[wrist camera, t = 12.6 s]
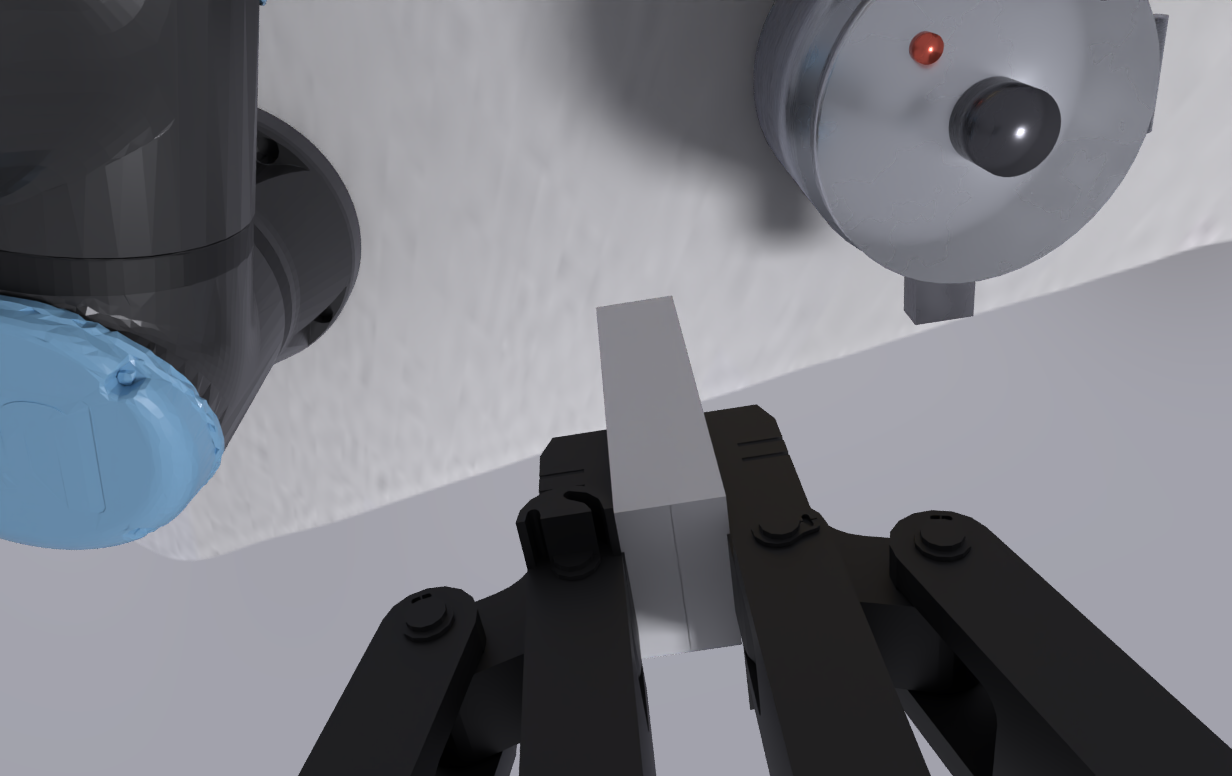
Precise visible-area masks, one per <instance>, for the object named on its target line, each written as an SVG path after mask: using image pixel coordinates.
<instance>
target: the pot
mask: <svg viewBox="0 0 1232 776" xmlns="http://www.w3.org/2000/svg"><path fill="white" fill-rule="evenodd" d="M861 1H862V0H776V1H775V2H774V4H773V6H772V8H771V10H770V12H769V14H768V16H767V19H766V22H765V24H764V27H763V30H762V32H761V35H760V39H759V43H758V47H757V51H756V57H755V65H754V98H755V105H756V111H757V115H758V118H759V122H760V126H761V128H762V131H763V133H764V135H765V138H766V140H767V142H768V144H769V146H770V147H771V149H772V151H773V152H774V154H775V156H776V157H777V158H778V160H779V161H780V162H781V164H782V165H783V166H784V167H785V169H786V170H787V171H788V173H789V174H790V175H791V177H792V178H793V179H794V180H795V182H796V183H797V184H798V186H799V187H800V188H801V189H802V191H803V192H804V193H805V195H806V196H807V197H808V199H809V200H810V201H811V202H812V204H813V205H814V206H815V208H816V209H817V210H818V211H819V213H820V214H821V215H822V216H823V218H824V219H825V220H826V221H827V223H828V224H829V225H830V226H831V227H832V229H834V230H835V231H836V232H837V233H838V234H839V235H840V236H841V237H842V238H844V239H845V240H846V241H847V242H849V243H850V244H852V245H853V246H855V247H856V248H858V247H857V246H856V245H855V244H854V243H853V242H852V241H851V240H850V239H849V238H848V237H847V236H846V235H845V234H844V233H843V231H842V230H841V229H840V228H839V227H838V225H837V224H836V223H835V222H834V220H833V218H832V217H831V215H830V213H829V211H828V210H827V208H826V206H825V205H824V202H823V200H822V197H821V195H820V192H819V190H818V187H817V184H816V180H815V176H814V172H813V167H812V160H811V150H810V121H811V114H812V107H813V101H814V96H815V92H816V89H817V85H818V81H819V78H820V74H821V72H822V69H823V67H824V64H825V62H826V59H827V57H828V54H829V52H830V49H831V48H832V46H833V44H834V42H835V40H836V38H837V36H838V35H839V33H840V31H841V29H842V27H843V26H844V24H845V23H846V22H847V20H848V19H849V17H850V16H851V14H852V13H853V11H854V10H855V8H856V7H857V6H858V5H859V3H860V2H861ZM1153 16H1154V19H1155V23H1156V29H1157V34H1158V40H1159V53H1160V72H1161V65H1162V58H1163V51H1164V45H1165V38H1166V31H1167V24H1168V18H1169V16H1168V15H1165V14H1153ZM1160 72H1159V79H1160ZM1158 85H1159V83H1158ZM1156 99H1157V97H1156ZM1155 106H1156V101H1155ZM1155 106H1154V111H1153V115H1152V118H1151V121H1150V124H1149V127H1148V130H1147V133H1149V132H1151V131H1152V126H1153V119H1154V112H1155ZM1147 133H1146V134H1147ZM858 249H859V248H858ZM859 250H860V249H859ZM861 251H862V250H861ZM974 294H975V281H974V282H966V283H934V282H926V281H920V280H916V279H913V278H909V277H906V276H904V311H905V312H906V314H907V315H908V316H909V317H910V319H911V320H912V321H913V323H914V324H915V325H919V324H925V323H932V322H938V321H944V320H951V319H957V318H964V317H970V316H973V312H974Z"/></svg>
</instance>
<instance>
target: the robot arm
mask: <svg viewBox="0 0 1232 776" xmlns="http://www.w3.org/2000/svg"><path fill="white" fill-rule="evenodd" d="M265 4H266V0H0V538H1V539H5V540H8V541H12V542H16V543H20V544H25V545H30V546H36V547H43V548H52V549H66V550H84V549H98V548H106V547H111V546H117V545H121V544H124V543H128V542H131V541H134V540H137V539H140V538H142V537H144V536H146V535H147V534H148V533H150V532H154V531H155V530H156V529H158V528H159V527H161V526H164V525H166V524H168V523H169V522H170V521H172V520H173V519H174V518H175V517H177V516H178V515H179V514H180V513H181V512H182V511H183V510H184V509H185V507H186V506H187V505H188V503H189V502H190V501H191V500H192V499H193V497H194V496H195V495H196V494H197V493H198V491H199V490H200V489H201V488H202V487H203V486H204V485H205V484H207V482H208V480H209V479H210V478H212V477H213V475H214V474H215V472H216V470H217V469H218V468H219V466H220V463H221V456H222V454H223V452H224V451H225V449H226V447H227V445H228V443H229V442H230V440H231V438H232V436H233V435H234V433H235V431H236V429H237V428H238V426H239V424H240V422H241V421H242V419H243V417H244V415H245V413H246V412H247V410H248V408H249V406H250V405H251V403H252V401H253V399H254V398H255V396H256V394H257V392H258V391H259V389H260V387H261V385H262V384H263V382H264V380H265V378H266V376H267V375H268V373H269V371H270V369H271V368H272V366H273V364H276V363H278V362H280V361H282V360H284V359H286V358H288V357H290V356H293V355H295V354H296V353H298V352H300V351H302V350H304V349H305V348H307V347H308V346H310V345H311V344H312V343H314V342H315V341H316V340H317V339H319V338H320V337H321V336H322V335H323V334H324V333H325V332H326V331H327V330H328V329H329V328H330V327H331V325H332V324H333V323H334V322H335V320H336V319H337V317H338V316H339V314H340V313H341V311H342V309H343V307H344V306H345V304H346V302H347V300H348V298H349V296H350V294H351V292H352V289H353V287H354V285H355V282H356V279H357V275H358V271H359V266H360V259H361V235H360V228H359V222H358V218H357V214H356V211H355V208H354V205H353V202H352V200H351V197H350V195H349V193H348V191H347V189H346V187H345V185H344V183H343V181H342V180H341V178H340V176H339V175H338V173H337V172H336V170H335V169H334V168H333V166H332V165H331V164H330V162H329V161H328V160H327V159H326V157H325V156H324V155H323V154H322V153H321V152H320V151H319V150H318V149H317V148H316V147H315V146H314V145H313V144H312V143H311V142H310V141H309V140H308V139H307V138H306V137H304V136H303V135H302V134H301V133H299V132H298V131H297V130H295V129H294V128H293V127H291V126H290V125H288V124H287V123H285V122H284V121H282V120H280V119H278V118H277V117H275V116H273V115H271V114H269V113H267V112H265V111H263V110H260V109H258V108H257V96H258V47H259V5H262V6H264V5H265ZM596 310H597V322H598V334H599V345H600V357H601V369H602V380H603V392H604V404H605V415H606V427H607V430H601V431H594V432H588V433H581V434H575V435H568V436H562V437H555V438H552V440H551V441H550V443H549V444H548V446H547V447H546V449H545V450H544V452H543V453H542V455H541V456H540V474H539V476H540V480H539V496H537V497H535V498H533V499H531V500H530V501H529V502H528V503H527V504H526V505H525V506H524V507H523V508H522V509H521V510H520V512H519V515H518V518H517V521H516V526H517V530H518V534H519V538H520V542H521V545H522V550H523V553H524V557H525V561H526V565H527V569H528V571H527V573H526V574H525V575H524V576H523V577H522V578H521V579H520V580H519V581H517V582H516V583H515V584H513V585H512V586H510V587H509V588H506V589H504V590H503V591H500V592H498V593H496V594H494V595H492V596H489V597H486V598H484V599H481V600H479V601H476V602H475V601H474V599H473V597H472V596H470V595H469V594H467V593H466V592H464V591H463V590H462V589H457V588H451V587H446V586H444V587H436V588H428V589H425V590H422V591H420V592H417V593H414V594H412V595H409V596H408V597H406V598H405V599H404V600H402V601H401V602H399V603H398V604H396V605H395V606H393V608H392V609H391V610H390V611H389V613H388V614H387V615H386V616H385V618H384V619H383V620H382V622H381V624H380V626H379V628H378V630H377V631H376V633H375V635H374V637H373V639H372V640H371V642H370V644H369V646H368V648H367V650H366V652H365V653H364V656H363V657H362V659H361V661H360V663H359V664H358V666H357V668H356V670H355V672H354V674H353V675H352V677H351V679H350V681H349V683H348V685H347V687H346V688H345V690H344V692H343V694H342V696H341V698H340V699H339V701H338V703H337V705H336V707H335V709H334V711H333V712H332V714H331V716H330V718H329V720H328V722H327V723H326V725H325V727H324V729H323V731H322V733H321V734H320V736H319V738H318V740H317V742H316V744H315V746H314V747H313V749H312V751H311V753H310V755H309V757H308V758H307V760H306V762H305V764H304V766H303V768H302V770H301V772H300V773H299V775H298V776H509V775H510V772H511V769H512V766H513V763H514V760H515V757H516V748H517V744H518V743H520V764H519V776H656V770H655V760H654V751H653V743H652V734H651V724H650V715H649V706H648V697H647V688H646V683H645V677H644V672H643V666H642V660H641V659H646V658H653V657H659V656H666V655H673V654H679V653H686V652H693V651H700V650H707V649H714V648H721V647H727V646H734V645H741V644H742V642H743V646H744V655H745V665H746V674H747V683H748V693H749V702H750V710H752V709H755V712H756V717H757V721H758V725H759V729H760V734H761V738H762V743H763V747H764V751H765V756H766V760H767V764H768V768H769V773H770V776H931V775H930V773H929V770H928V768H927V766H926V763H925V760H924V758H923V756H922V753H921V751H920V748H919V746H918V743H917V741H916V738H915V736H914V734H913V731H912V729H911V726H910V724H909V721H908V719H907V717H906V714H907V715H908V716H909V718H910V719H911V720H912V722H913V723H914V724H915V726H916V727H917V728H918V730H919V731H920V732H921V734H922V735H923V736H924V738H925V739H926V740H927V742H928V743H929V745H930V746H931V747H932V749H933V750H934V751H935V752H936V754H937V755H938V757H939V758H940V759H941V761H942V762H943V763H944V765H945V766H946V767H947V769H948V770H949V771H950V773H951V774H952V775H953V776H1232V749H1231V748H1230V747H1229V746H1228V745H1227V744H1226V743H1224V742H1223V741H1222V740H1221V739H1220V738H1219V737H1218V736H1217V735H1216V734H1214V733H1213V732H1212V731H1211V730H1210V729H1209V728H1208V727H1207V726H1206V725H1204V724H1203V723H1202V722H1201V721H1200V720H1199V719H1198V718H1196V716H1195V715H1193V714H1192V713H1191V712H1190V711H1189V710H1188V709H1187V708H1186V707H1185V706H1184V705H1182V704H1181V703H1180V702H1179V701H1178V700H1177V699H1176V698H1175V697H1174V696H1172V695H1171V694H1170V693H1169V692H1168V691H1167V690H1166V689H1165V688H1164V687H1163V686H1161V685H1160V684H1159V683H1158V682H1157V681H1156V680H1155V679H1154V678H1153V677H1151V676H1150V675H1149V674H1148V673H1147V672H1146V671H1145V670H1144V669H1142V668H1141V667H1140V666H1139V665H1138V664H1137V663H1136V662H1135V661H1134V660H1133V659H1132V658H1130V657H1129V656H1128V655H1127V654H1126V653H1125V652H1124V651H1123V650H1122V649H1121V648H1119V647H1118V646H1117V645H1116V644H1115V643H1114V642H1113V641H1112V640H1110V639H1109V638H1108V637H1107V636H1106V635H1105V634H1104V633H1103V632H1102V631H1101V630H1100V629H1098V628H1097V627H1096V626H1095V625H1094V624H1093V623H1092V622H1091V621H1090V620H1088V619H1087V618H1086V617H1085V616H1084V615H1083V614H1082V613H1081V612H1079V610H1077V609H1076V608H1075V607H1074V606H1073V605H1072V604H1071V603H1070V602H1069V601H1067V600H1066V599H1065V598H1064V597H1063V596H1062V595H1061V594H1060V593H1059V592H1057V591H1056V590H1055V589H1054V588H1053V587H1052V586H1051V585H1050V584H1049V583H1048V582H1046V581H1045V580H1044V579H1043V578H1042V577H1041V576H1040V575H1039V574H1038V573H1036V572H1035V571H1034V570H1033V569H1032V568H1031V567H1030V566H1029V565H1028V564H1027V563H1025V562H1024V561H1023V560H1022V559H1021V558H1020V557H1019V556H1018V555H1017V554H1016V553H1014V552H1013V551H1012V550H1011V549H1010V548H1009V547H1008V546H1007V545H1005V544H1004V543H1003V542H1002V541H1001V540H1000V539H999V538H998V537H997V536H996V535H994V534H993V533H992V532H991V531H990V530H989V529H988V528H987V527H985V526H984V525H982V524H981V523H979V522H978V521H976V520H974V519H973V518H971V517H968V516H965V515H961V514H958V513H955V512H951V511H935V510H931V511H926V512H919V513H914V514H911V515H910V516H908V517H906V518H904V519H902V520H900V521H898V523H897V524H896V525H895V527H894V528H893V529H892V530H891V532H890V538H884V537H870V536H861V535H854V534H848V533H845V532H842V531H839V530H836V529H834V528H832V527H830V526H828V524H827V522H826V521H825V520H824V518H823V517H822V516H821V515H820V513H818V512H816V511H815V510H813V509H811V507H810V506H809V503H808V501H807V498H806V495H805V493H804V491H803V488H802V485H801V483H800V480H799V478H798V475H797V473H796V470H795V468H794V465H793V463H792V460H791V458H790V455H788V450H787V448H786V445H785V442H784V440H783V439H782V435H781V432H780V430H779V427H778V425H777V422H776V420H775V418H774V417H772V416H771V415H769V414H768V413H767V412H766V411H764V410H763V409H762V408H760V407H759V406H758V405H750V406H744V407H737V408H730V409H724V410H717V411H711V412H704V413H703V409H702V405H701V401H700V398H699V394H698V390H697V387H696V383H695V379H694V375H693V372H692V368H691V364H690V361H689V357H688V353H687V349H686V346H685V342H684V338H683V334H682V331H681V327H680V323H679V320H678V316H677V312H676V308H675V305H674V301H673V297H672V296H667V297H660V298H654V299H648V300H641V301H635V302H628V303H622V304H616V305H609V306H603V307H597V308H596ZM741 638H742V642H741ZM904 711H905V712H906V714H905V712H904Z"/></svg>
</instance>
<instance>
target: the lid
mask: <svg viewBox="0 0 1232 776" xmlns="http://www.w3.org/2000/svg"><path fill="white" fill-rule="evenodd" d="M1159 72H1160V53H1159V40H1158V34H1157V29H1156V23H1155V19H1154V16H1153V13H1152V10H1151V7H1150V4H1149V1H1148V0H862V1H861V2H860V3H859V5H858V6H857V7H856V8H855V10H854V11H853V13H852V14H851V16H850V17H849V19H848V20H847V22H846V23H845V24H844V26H843V27H842V29H841V31H840V33H839V35H838V36H837V38H836V40H835V42H834V44H833V46H832V48H831V49H830V52H829V54H828V57H827V59H826V62H825V64H824V67H823V69H822V72H821V74H820V78H819V81H818V85H817V89H816V92H815V96H814V101H813V107H812V114H811V121H810V150H811V160H812V167H813V172H814V176H815V180H816V184H817V187H818V190H819V192H820V195H821V197H822V200H823V202H824V205H825V206H826V208H827V210H828V211H829V213H830V215H831V217H832V218H833V220H834V222H835V223H836V224H837V225H838V227H839V228H840V229H841V230H842V231H843V233H844V234H845V235H846V236H847V237H848V238H849V239H850V240H851V241H852V242H853V243H854V244H855V245H856V246H857V247H858V248H859V249H860V250H862V251H863V252H864V253H865V254H866V255H867V256H868V257H869V258H871V259H872V260H874V261H875V262H877V263H879V264H880V265H882V266H883V267H885V268H887V269H889V270H891V271H893V272H896V273H898V274H900V275H902V276H906V277H909V278H913V279H916V280H920V281H926V282H934V283H966V282H974V281H981V280H985V279H989V278H993V277H997V276H1001V275H1004V274H1006V273H1009V272H1012V271H1014V270H1017V269H1020V268H1022V267H1024V266H1026V265H1028V264H1030V263H1032V262H1034V261H1036V260H1038V259H1040V258H1042V257H1043V256H1045V255H1046V254H1048V253H1049V252H1051V251H1053V250H1054V249H1056V248H1057V247H1059V246H1060V245H1062V244H1063V243H1064V242H1065V241H1067V240H1068V239H1069V238H1070V237H1072V236H1073V235H1074V234H1076V233H1077V232H1078V231H1079V230H1080V229H1081V228H1082V227H1083V226H1084V225H1085V224H1086V223H1087V222H1089V221H1090V220H1091V219H1092V218H1093V217H1094V216H1095V215H1096V213H1097V212H1098V211H1099V210H1100V209H1101V208H1102V207H1103V205H1104V204H1105V203H1106V202H1107V201H1108V200H1109V198H1110V197H1111V196H1112V194H1113V193H1114V192H1115V190H1116V189H1117V187H1118V186H1119V185H1120V183H1121V182H1122V180H1123V179H1124V177H1125V176H1126V174H1127V172H1128V170H1129V169H1130V167H1131V165H1132V163H1133V162H1134V160H1135V158H1136V156H1137V154H1138V152H1139V149H1140V147H1141V145H1142V143H1143V140H1144V138H1145V136H1146V133H1147V130H1148V127H1149V124H1150V121H1151V118H1152V115H1153V111H1154V106H1155V101H1156V97H1157V92H1158V83H1159Z"/></svg>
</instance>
